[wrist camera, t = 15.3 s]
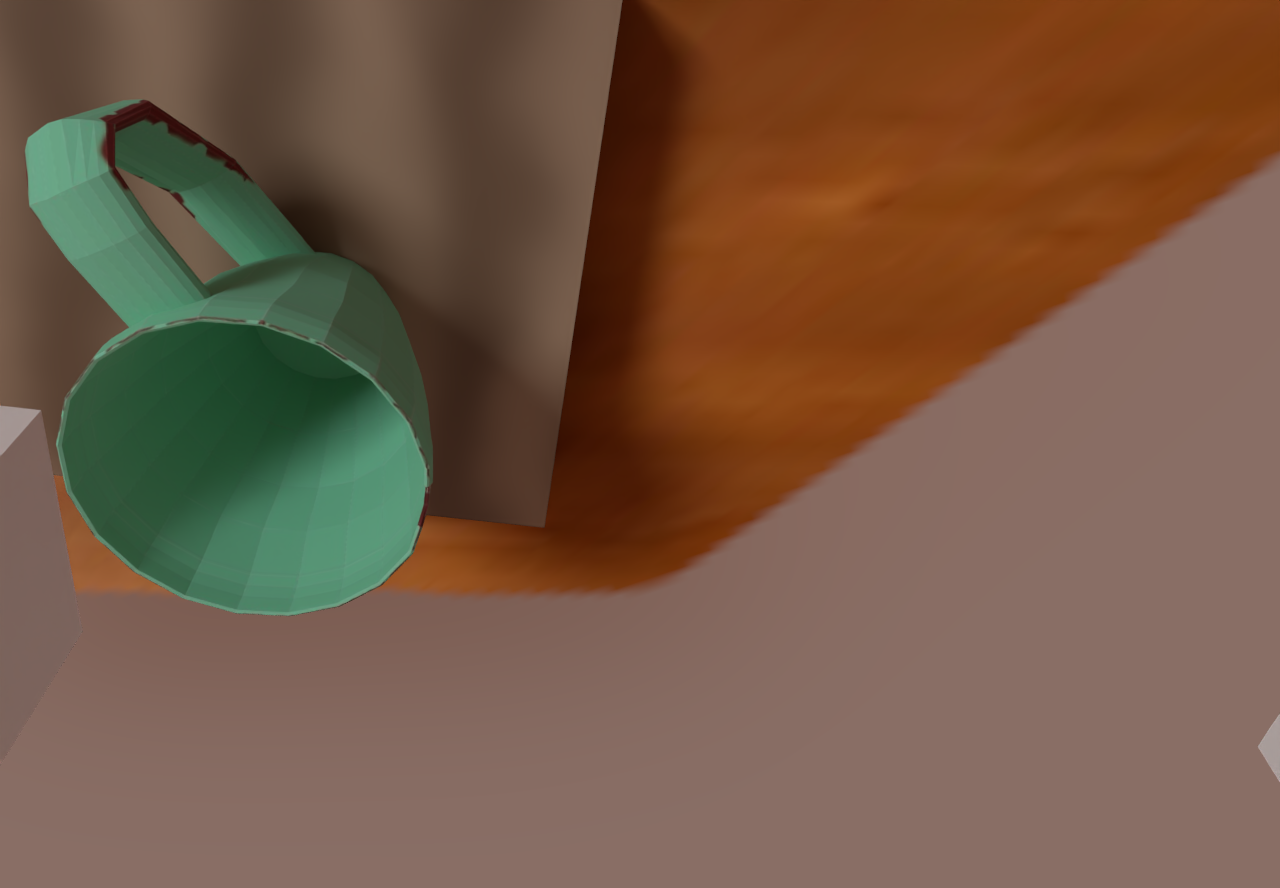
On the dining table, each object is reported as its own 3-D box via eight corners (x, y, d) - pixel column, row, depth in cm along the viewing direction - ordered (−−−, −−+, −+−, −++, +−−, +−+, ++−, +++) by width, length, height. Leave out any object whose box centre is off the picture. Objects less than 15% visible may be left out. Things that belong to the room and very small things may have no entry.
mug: (512, 383, 39) (491, 557, 31) (275, 469, 41) (194, 656, 33) (301, -20, 32) (198, 66, 23) (20, 105, 33) (-171, 228, 25)
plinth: (619, -26, 36) (622, -1, 32) (547, 470, 46) (544, 527, 43) (-24, -136, 33) (-93, -122, 30) (56, 414, 44) (12, 470, 41)
